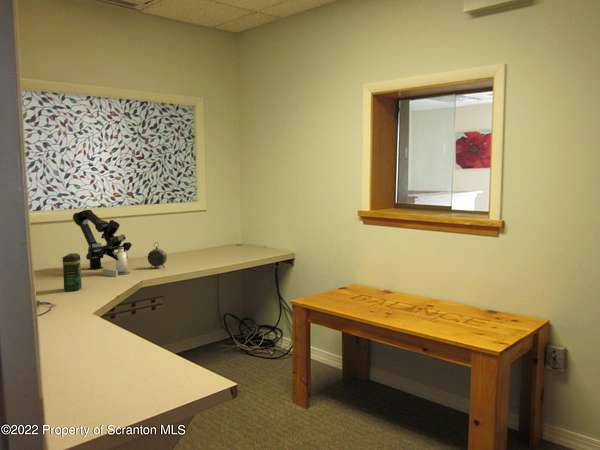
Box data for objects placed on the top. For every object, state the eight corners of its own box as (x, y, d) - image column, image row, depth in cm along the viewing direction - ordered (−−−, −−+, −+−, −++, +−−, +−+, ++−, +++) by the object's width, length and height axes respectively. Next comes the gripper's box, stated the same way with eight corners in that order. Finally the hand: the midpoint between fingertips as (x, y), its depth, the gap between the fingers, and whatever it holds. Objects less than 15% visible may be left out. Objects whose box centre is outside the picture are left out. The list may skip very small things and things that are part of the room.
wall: (102, 274, 300) (102, 269, 300) (104, 274, 301) (103, 268, 301) (116, 276, 295) (115, 270, 295) (117, 276, 296) (117, 270, 296)
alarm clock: (167, 267, 323) (166, 241, 321) (164, 268, 317) (163, 242, 315) (150, 267, 324) (149, 241, 322) (147, 268, 318) (145, 242, 317)
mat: (110, 274, 302) (110, 273, 302) (122, 271, 310) (122, 270, 310) (121, 275, 298) (121, 274, 298) (133, 272, 306) (133, 272, 306)
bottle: (114, 271, 301) (113, 248, 300) (118, 269, 307) (117, 246, 306) (124, 271, 301) (123, 248, 300) (128, 269, 307) (127, 246, 305)
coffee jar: (79, 291, 260) (76, 255, 258) (62, 292, 259) (60, 255, 257) (83, 287, 269) (81, 252, 267) (67, 287, 268) (65, 252, 266)
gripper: (101, 232, 296) (114, 252, 291) (129, 228, 311) (141, 248, 306) (94, 244, 302) (106, 264, 297) (121, 240, 317) (133, 260, 312)
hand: (122, 259), depth 303 cm, fingers closed on bottle, 6 cm apart
